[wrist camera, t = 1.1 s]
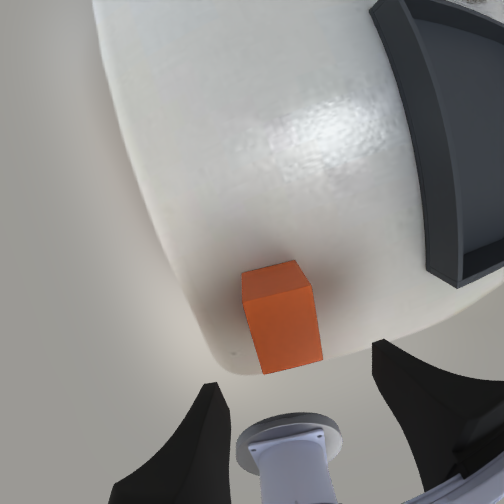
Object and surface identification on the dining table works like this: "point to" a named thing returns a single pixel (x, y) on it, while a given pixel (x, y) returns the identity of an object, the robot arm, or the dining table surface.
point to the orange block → (281, 317)
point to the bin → (452, 128)
